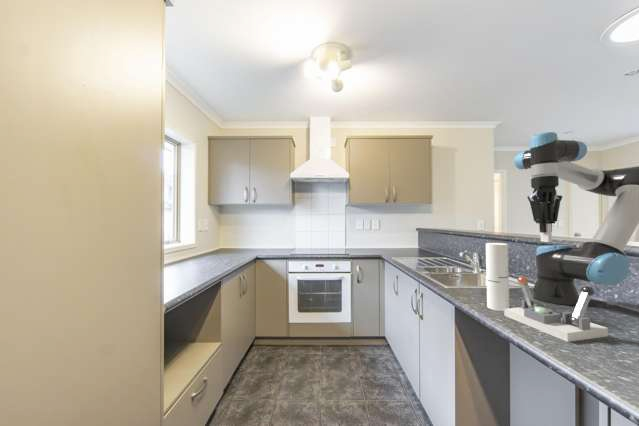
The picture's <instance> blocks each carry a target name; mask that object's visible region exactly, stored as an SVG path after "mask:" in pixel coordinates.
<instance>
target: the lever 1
mask: <svg viewBox="0 0 639 426" xmlns="http://www.w3.org/2000/svg"><path fill="white" fill-rule="evenodd" d="M517 282H518V284H519V286H520V289H521V291H522V293H523V296H524V298H525V299H526V302H527V303H526V305H525V306H526V308H534V304H536V301H535V298H534V297H533V296H532V290H531V288H530V285H529V283H528V282H529V281H528V278H527V277H526V276H519V277H518V278H517Z"/></svg>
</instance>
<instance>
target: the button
mask: <svg viewBox="0 0 639 426" xmlns="http://www.w3.org/2000/svg"><path fill="white" fill-rule="evenodd" d="M549 309H550V308H548V309H547V307H545V308H544V307H535V312H538V313H541V314H549Z"/></svg>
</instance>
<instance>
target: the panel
mask: <svg viewBox="0 0 639 426" xmlns="http://www.w3.org/2000/svg"><path fill="white" fill-rule="evenodd" d="M526 303H527V302H526V299H521V306H518V307H509V308H507V309H504V311H503V312H504V313H503V314H504V317H506V318H509V319H511V320H514V321H516V322H519V323H521V324H523V325H526V326H529V327H531V328H533V329H536V330H538V331H540V332H543V333H545V334H548V335H550V336H553V337H555V338H558V339H559V340H562V341H565V342H566V343H568V342H577V341H585V340H591V339H599V338H606V337H609V330H608V329H609V328H608V327H606V326H603V325H600V324H597V323H593V322H591V318H590V317H583V318H579V326H576V325H573V324H570V323H568V322H567V317H568V316H569V315H571V316H572V315H573V313H574V312H571V311H565V310H561V309H550V308H547V307H544V303H542V302H538V303H535V304H534V308H526V306H525V305H526ZM535 307H544V308H547V309H549V314H541V313H538V312H535Z"/></svg>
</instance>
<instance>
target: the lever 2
mask: <svg viewBox="0 0 639 426" xmlns="http://www.w3.org/2000/svg"><path fill="white" fill-rule="evenodd" d="M580 291H581V293H580V294H579V296H580V298H579V300H578V303H577V305H575V308H574V310H573V312H572V313H573V315H572V316H571V315H569V316H568V317H567V322H568V323H570V324H573V325H576V326H579V318H584V316H585V313H586V311H587V308H588V306H589V302H590V301H591V298H592V296H593V295H594V294H595V290H594V288H592V287H591V286H583V287H581V290H580Z"/></svg>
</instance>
